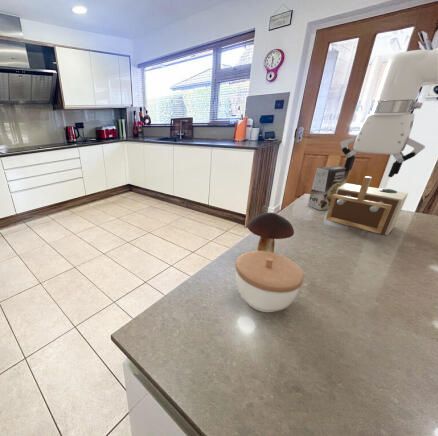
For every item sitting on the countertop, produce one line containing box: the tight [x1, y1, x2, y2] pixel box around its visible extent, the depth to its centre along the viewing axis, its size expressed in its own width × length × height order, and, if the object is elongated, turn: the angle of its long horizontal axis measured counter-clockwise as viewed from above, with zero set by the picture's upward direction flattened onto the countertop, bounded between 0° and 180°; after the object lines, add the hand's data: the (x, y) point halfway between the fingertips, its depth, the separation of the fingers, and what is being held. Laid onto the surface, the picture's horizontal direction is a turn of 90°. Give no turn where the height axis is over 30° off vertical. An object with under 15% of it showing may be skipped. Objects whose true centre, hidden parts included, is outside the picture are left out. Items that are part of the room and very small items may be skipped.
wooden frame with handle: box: [325, 175, 392, 234], centre depth 72 cm, size 14×1×16 cm, turn 36°
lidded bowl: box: [234, 250, 305, 313], centre depth 50 cm, size 13×13×11 cm
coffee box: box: [307, 164, 350, 211], centre depth 93 cm, size 9×6×16 cm
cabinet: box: [331, 182, 409, 236], centre depth 77 cm, size 16×18×12 cm
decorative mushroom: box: [246, 212, 295, 253], centre depth 61 cm, size 11×11×15 cm
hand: (368, 173), depth 68 cm, fingers open, 9 cm apart
